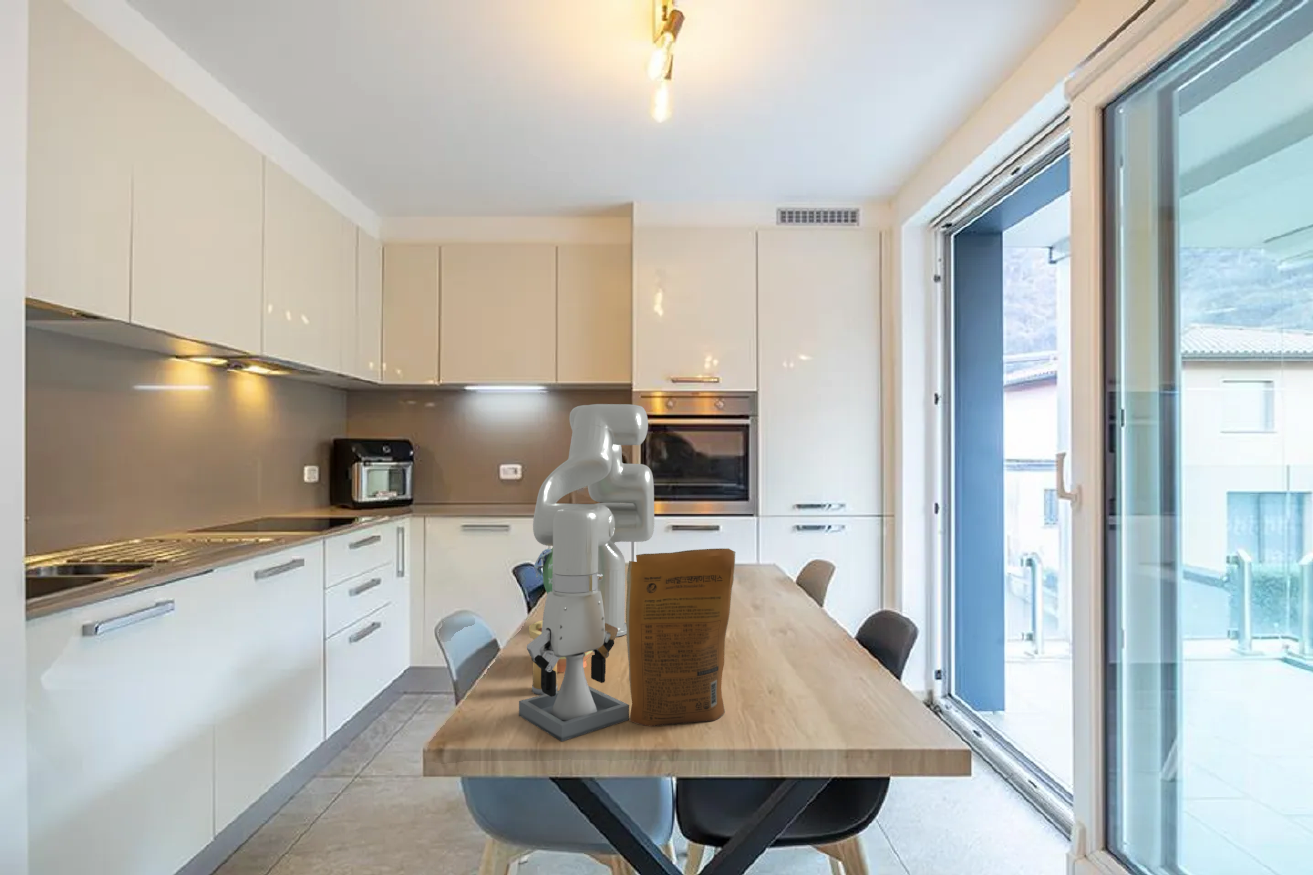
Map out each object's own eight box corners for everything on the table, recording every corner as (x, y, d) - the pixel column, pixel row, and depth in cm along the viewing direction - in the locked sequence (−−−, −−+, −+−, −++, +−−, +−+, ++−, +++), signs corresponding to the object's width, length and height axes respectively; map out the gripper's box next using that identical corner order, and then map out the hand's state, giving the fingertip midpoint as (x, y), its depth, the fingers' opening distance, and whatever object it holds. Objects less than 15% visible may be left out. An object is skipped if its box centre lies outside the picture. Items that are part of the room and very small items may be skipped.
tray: (518, 715, 109) (519, 700, 109) (583, 697, 117) (583, 683, 117) (561, 741, 99) (561, 725, 99) (629, 719, 107) (629, 704, 107)
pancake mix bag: (742, 723, 106) (742, 549, 107) (626, 733, 102) (628, 553, 103) (728, 707, 113) (728, 544, 114) (618, 717, 108) (620, 547, 109)
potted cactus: (563, 649, 146) (565, 537, 147) (618, 662, 137) (619, 542, 138) (511, 667, 133) (513, 544, 134) (567, 683, 125) (568, 551, 125)
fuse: (527, 689, 121) (528, 646, 121) (548, 684, 124) (549, 641, 124) (540, 696, 117) (540, 651, 118) (562, 691, 120) (562, 647, 121)
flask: (572, 702, 113) (573, 644, 114) (604, 712, 109) (605, 651, 109) (542, 715, 107) (543, 654, 108) (575, 726, 103) (576, 662, 103)
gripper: (603, 574, 117) (602, 670, 117) (517, 586, 106) (516, 692, 105) (630, 580, 112) (629, 681, 111) (541, 593, 100) (540, 706, 100)
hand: (574, 687), depth 108 cm, fingers open, 9 cm apart
